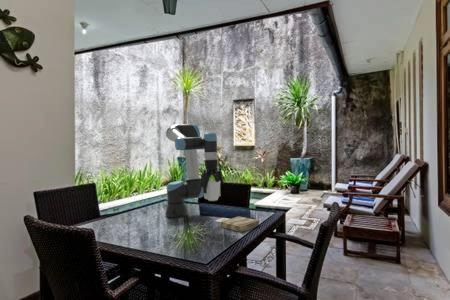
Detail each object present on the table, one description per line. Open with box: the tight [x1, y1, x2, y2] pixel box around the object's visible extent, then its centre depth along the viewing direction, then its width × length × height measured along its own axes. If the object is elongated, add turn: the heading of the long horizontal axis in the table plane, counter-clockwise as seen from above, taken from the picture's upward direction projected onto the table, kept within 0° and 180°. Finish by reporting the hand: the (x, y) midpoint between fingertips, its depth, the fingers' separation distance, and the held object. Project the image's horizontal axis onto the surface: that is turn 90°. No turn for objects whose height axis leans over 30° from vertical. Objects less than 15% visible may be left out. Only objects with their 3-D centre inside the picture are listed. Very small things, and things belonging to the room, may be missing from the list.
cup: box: [207, 179, 221, 202], centre depth 177 cm, size 10×10×11 cm
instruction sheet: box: [214, 217, 230, 223], centre depth 189 cm, size 12×9×1 cm
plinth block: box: [220, 216, 260, 233], centre depth 176 cm, size 16×16×3 cm
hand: (212, 197), depth 177 cm, fingers closed on cup, 9 cm apart
